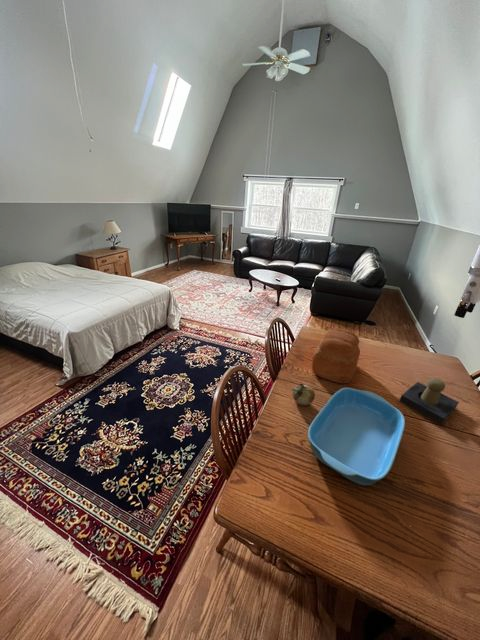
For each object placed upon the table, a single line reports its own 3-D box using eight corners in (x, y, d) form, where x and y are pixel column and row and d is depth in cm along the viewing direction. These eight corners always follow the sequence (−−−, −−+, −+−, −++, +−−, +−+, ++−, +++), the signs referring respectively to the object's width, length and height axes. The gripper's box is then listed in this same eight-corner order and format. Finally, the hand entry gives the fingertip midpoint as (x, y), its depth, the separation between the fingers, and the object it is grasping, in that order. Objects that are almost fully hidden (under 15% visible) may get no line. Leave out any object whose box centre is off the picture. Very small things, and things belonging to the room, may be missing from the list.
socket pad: (455, 408, 99) (458, 402, 98) (441, 425, 91) (444, 418, 90) (415, 387, 109) (417, 381, 108) (399, 401, 101) (401, 395, 100)
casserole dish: (374, 514, 64) (382, 496, 61) (292, 459, 77) (296, 441, 74) (404, 424, 91) (411, 408, 87) (340, 394, 103) (344, 379, 100)
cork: (435, 413, 96) (446, 388, 92) (416, 404, 100) (426, 380, 95) (438, 404, 100) (449, 381, 96) (419, 396, 104) (429, 373, 99)
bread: (307, 374, 114) (313, 340, 106) (320, 351, 131) (326, 320, 124) (350, 389, 106) (360, 353, 99) (357, 363, 123) (366, 330, 116)
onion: (307, 412, 94) (310, 394, 90) (287, 401, 98) (290, 384, 95) (316, 401, 99) (320, 384, 96) (297, 391, 104) (300, 374, 100)
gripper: (487, 278, 93) (467, 322, 100) (500, 271, 103) (480, 312, 110) (461, 273, 98) (444, 315, 106) (476, 267, 108) (459, 306, 115)
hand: (463, 314), depth 108 cm, fingers open, 9 cm apart
